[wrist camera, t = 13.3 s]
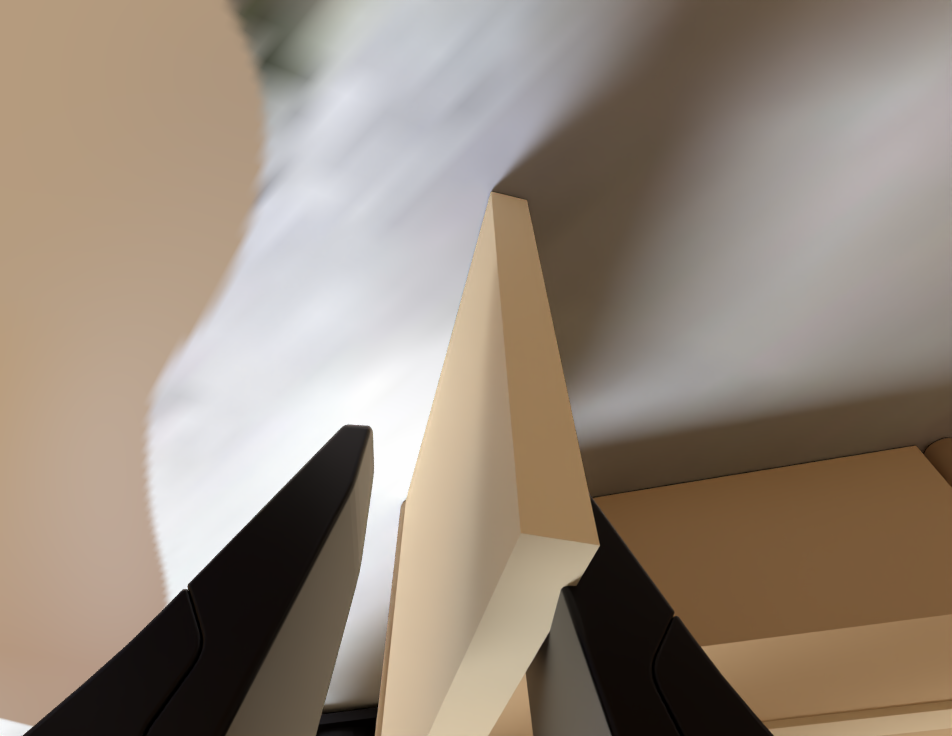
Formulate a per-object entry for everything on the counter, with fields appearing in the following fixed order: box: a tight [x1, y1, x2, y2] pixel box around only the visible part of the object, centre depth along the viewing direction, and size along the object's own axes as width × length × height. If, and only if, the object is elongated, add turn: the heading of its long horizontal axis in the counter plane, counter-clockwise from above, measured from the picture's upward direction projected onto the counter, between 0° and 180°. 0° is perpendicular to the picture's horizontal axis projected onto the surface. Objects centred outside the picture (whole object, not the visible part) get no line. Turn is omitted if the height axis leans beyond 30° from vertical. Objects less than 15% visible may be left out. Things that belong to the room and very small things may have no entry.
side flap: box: [375, 191, 600, 736], centre depth 13 cm, size 11×1×9 cm, turn 166°
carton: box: [488, 446, 952, 736], centre depth 19 cm, size 15×10×5 cm, turn 103°
